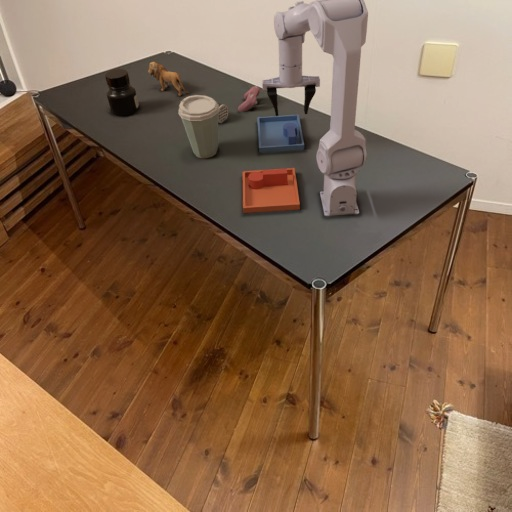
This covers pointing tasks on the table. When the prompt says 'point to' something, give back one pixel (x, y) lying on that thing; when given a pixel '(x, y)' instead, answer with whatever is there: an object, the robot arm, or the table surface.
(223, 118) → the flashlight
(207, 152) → the disposable coffee cup
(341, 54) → the robot arm
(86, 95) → the table surface
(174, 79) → the lion figurine
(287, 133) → the blue round-ended block
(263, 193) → the terracotta tray
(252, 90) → the pink shoe
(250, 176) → the red round-ended block
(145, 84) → the table surface
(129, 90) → the ink bottle
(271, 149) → the blue tray
